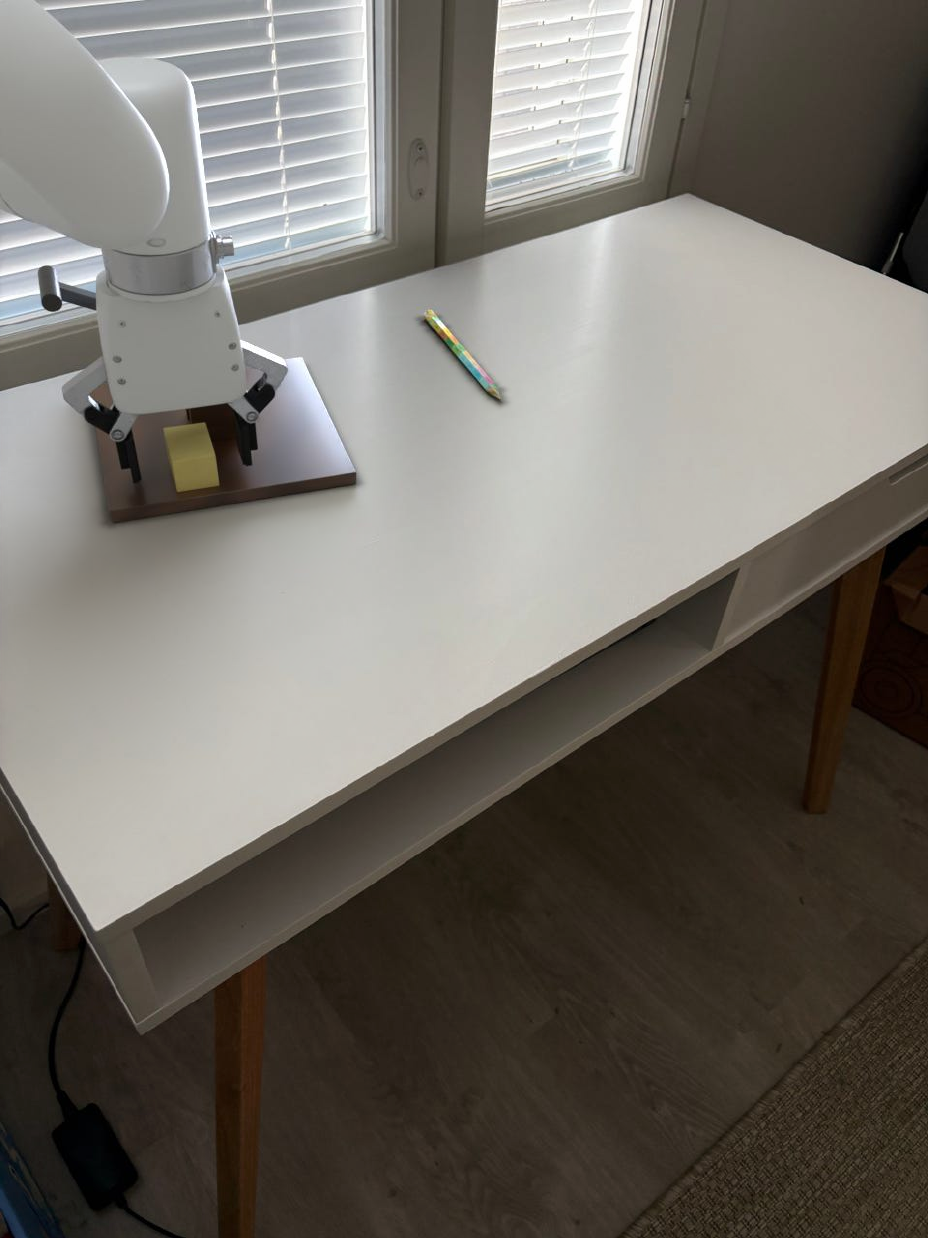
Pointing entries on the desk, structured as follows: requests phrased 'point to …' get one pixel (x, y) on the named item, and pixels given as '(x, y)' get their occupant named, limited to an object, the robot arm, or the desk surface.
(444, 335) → the pencil
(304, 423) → the slicer
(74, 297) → the lever
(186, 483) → the butter
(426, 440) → the desk surface
